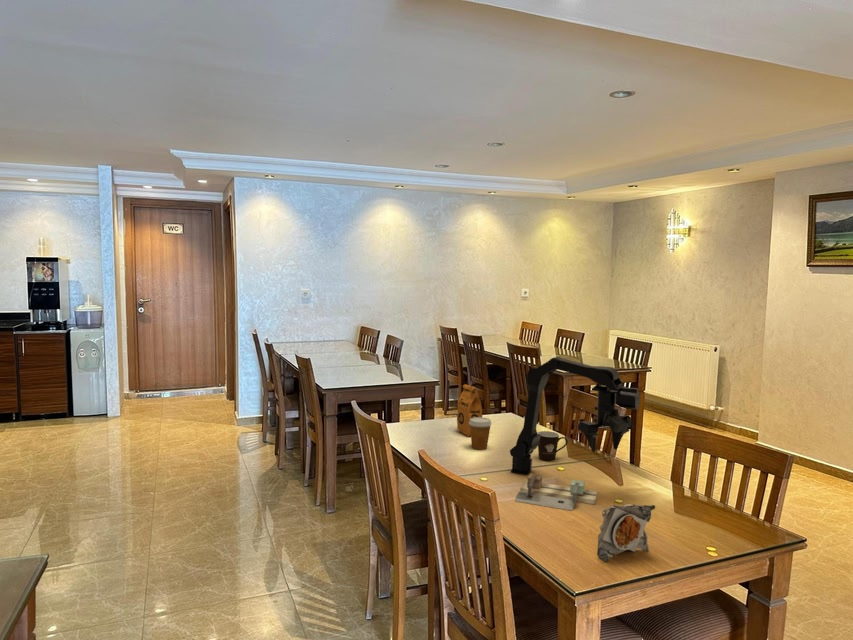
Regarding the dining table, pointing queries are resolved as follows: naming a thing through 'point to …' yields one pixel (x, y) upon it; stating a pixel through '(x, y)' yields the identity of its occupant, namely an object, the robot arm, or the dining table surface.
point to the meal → (623, 530)
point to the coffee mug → (549, 445)
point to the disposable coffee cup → (479, 432)
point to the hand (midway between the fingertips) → (604, 450)
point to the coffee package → (468, 409)
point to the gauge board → (555, 490)
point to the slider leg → (576, 488)
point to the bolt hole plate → (545, 501)
